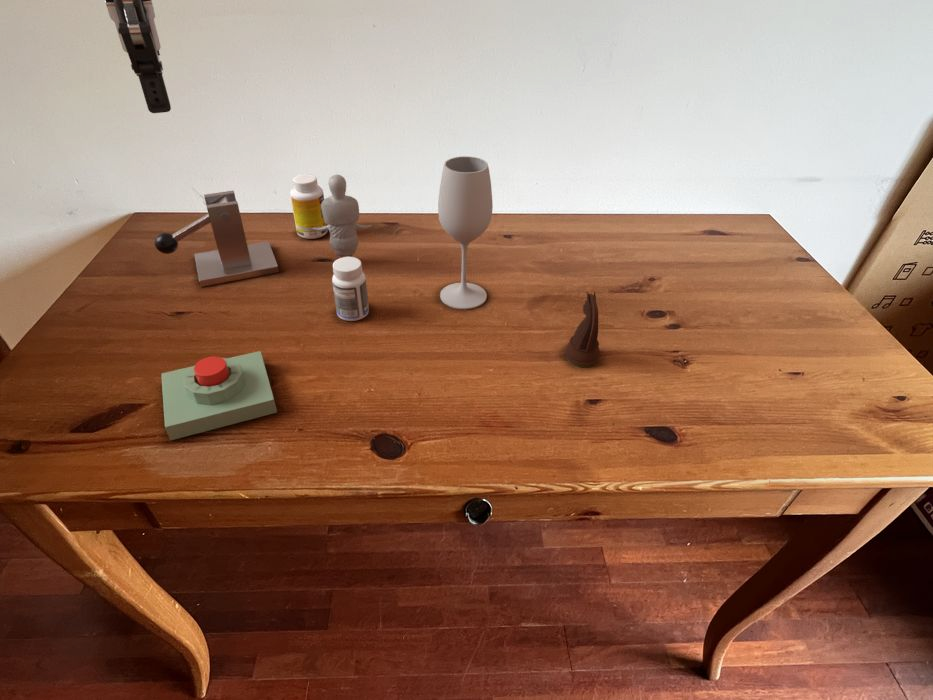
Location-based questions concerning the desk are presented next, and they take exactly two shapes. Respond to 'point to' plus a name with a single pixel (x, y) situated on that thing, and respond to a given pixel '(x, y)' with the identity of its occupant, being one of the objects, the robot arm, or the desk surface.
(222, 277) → the lever stand
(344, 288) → the pill bottle
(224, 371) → the red button
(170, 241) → the lever handle
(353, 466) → the desk surface
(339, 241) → the figurine
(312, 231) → the supplement bottle
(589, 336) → the chess piece
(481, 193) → the wineglass
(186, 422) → the button block
